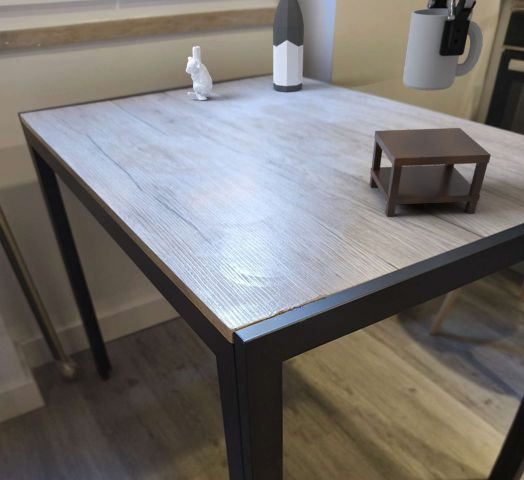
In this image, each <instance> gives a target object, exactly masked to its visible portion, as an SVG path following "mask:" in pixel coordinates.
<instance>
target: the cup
mask: <svg viewBox="0 0 524 480" xmlns="http://www.w3.org/2000/svg"><path fill="white" fill-rule="evenodd" d="M445 20H448V9H427V8H422V9H416V10H413V11H411V13H410V21H409V22H410V23H409V29H408V38H407V45H406V51H405V59H404V60H405V61H404V67H403V74H402V75H403V76H402V83H403V85H404V87H406V88H408V89H411V90H417V91H442V90H447V89H449V88H451V87H452V86H453V84H454V83H455V79H456V78H457V77H462V76H466V75H468V74H469V73H470V72H471V71H472V70H473V69H475V67H476V65H477V64H478V62H479V60H480V56H481V53H482V50H483V46H484V45H483V41H484V40H483V39H484V38H483V37H484V36H483V31H482V28H481V26H480V25H479V24H478V23H477V22H475V21H473V20H470V25H469V30H468V35H467V36H468V37H469V48H468V52H467V56H466V58H465V59H464V61H463V62H462V63H459V59H460V56H441V55H440V54H439V50H440V44H441V38H442V33H443V27H444V21H445Z"/></svg>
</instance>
